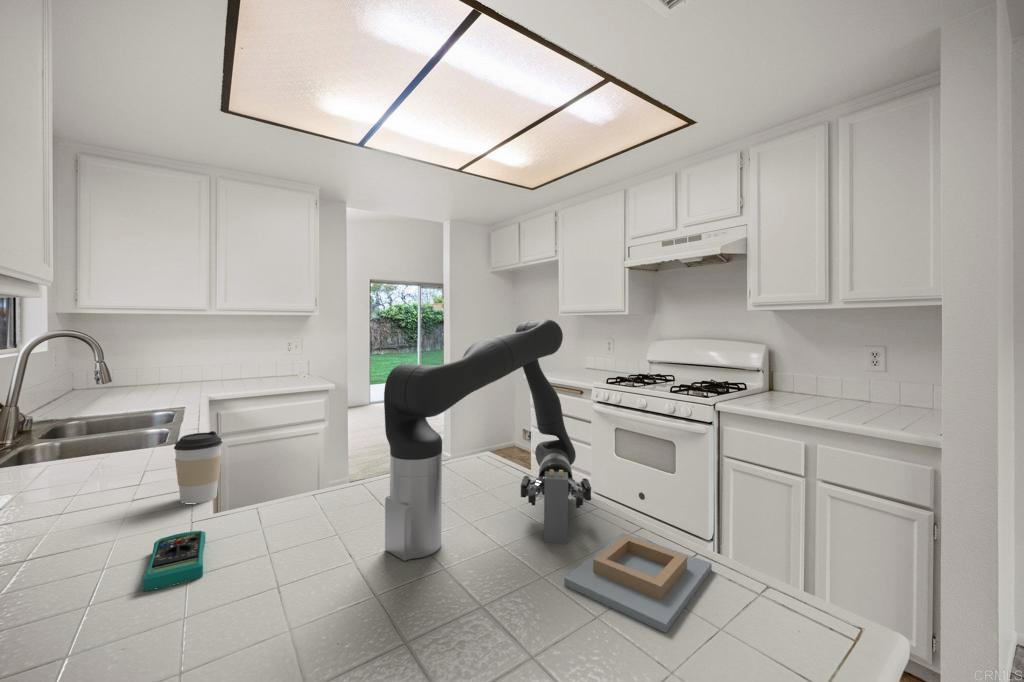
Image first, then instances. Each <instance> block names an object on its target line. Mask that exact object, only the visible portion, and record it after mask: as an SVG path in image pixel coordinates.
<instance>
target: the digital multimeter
mask: <svg viewBox="0 0 1024 682" xmlns="http://www.w3.org/2000/svg"><path fill="white" fill-rule="evenodd" d="M205 544H206V531H203V530H193V531H186V532H181V533H175V534H172V535H169V536H166V537H162V538H159V539H157V540H155V542H154V543H153V549H152V554H151V558H150V560H149V563H148V565H147V569H146V571H145V574H144V576H143V579H142V591H143V590H145V591H144V592H147V591H146V590H150V591H152V590H151V589H155V588H160V589H163V587H164V588H167V586H168V587H170V586H169V585H172V586H174V585H173V584H176V585H178V584H177V583H180V584H182V583H181V582H184V583H186V582H185V581H187V582H189V580H191V581H194V580H196V578H197V579H200V578H202V577H203V576H204V560H203V559H204V552H205ZM193 579H194V580H193ZM155 590H156V589H155Z"/></svg>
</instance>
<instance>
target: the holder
mask: <svg viewBox="0 0 1024 682" xmlns="http://www.w3.org/2000/svg"><path fill="white" fill-rule="evenodd" d="M712 570H713V569H712V562H710V561H707V560H704V559H700V558H697V557H695V556H691V555H689V554H686V553H684V552H680V551H678V550H674V549H671V548H668V547H665V546H663V545H659V544H656V543H654V542H651V541H648V540H645V539H642V538H639V537H636V536H633V535H630V534H627V533H624V532H622V533H620V534H619V535H618V536H616V538H614V539H613V540H611V541H610V542H609V543H608V544H606V545H605V546H604V547H602V548H600V549H599V551H597V552H596V553H595V554H593V555H592V556H591V557H589V558H588V559H586V560H585V561H584V562H583V563H581V564H580V565H579V566H577V567H576V568H575V569H573V570H572V571H571V572H570V573H568V574H567V575H566V576H565V577H564V578H563V580H564V581H563V584H564V585H563V586H565V587H567V588H569V589H571V590H574V591H575V592H577V593H578V594H579V593H580V594H582V595H584V596H586V597H588V598H590V599H592V600H594V601H597V602H599V603H601V604H603V605H605V606H607V607H609V608H612V609H614V610H616V611H618V612H620V613H622V614H624V615H626V616H629V617H630V618H632V619H635V620H637V621H638V622H642V623H644V624H645V625H648V626H649V627H652V628H654V629H656V630H659V631H660V632H662V633H665V634H667V633H668V631H669V629H671V627H672V626H673V624H674V623H675V621H676V620H677V618H679V616H680V615H681V614H682V612H683V610H684V609H685V607H686V606H687V605H688V604H689V602H690V601H691V599H692V598H693V597H694V595H695V594H696V592H697V591H698V589H699V588H700V587H701V585H702V584H703V583H704V581H705V579H706V578H707V577H708V576H709V574H711V572H712Z"/></svg>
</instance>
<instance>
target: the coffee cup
mask: <svg viewBox="0 0 1024 682" xmlns="http://www.w3.org/2000/svg"><path fill="white" fill-rule="evenodd" d="M222 445H223V441H222V438H221V437H220V436H218V434H217V432H216V431H215V430H214V431H213V430H212V431H209V432H197V433H189V434H185V435H183V436H181V437H180V439H179V440H178V441H176V442H175V446H173V449H174V451H175V452H174V453H175V458H174V461H175V471H176V478H177V485H178V489H179V498H180V503H181V502H183V503H200V504H205V503H207V502H210V501H213V500H214V499H216V498H217V496H218V485H219V479H220V470H221V463H222V462H221V460H222V452H221V450H222ZM212 499H213V500H212Z"/></svg>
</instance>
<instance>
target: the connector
mask: <svg viewBox="0 0 1024 682" xmlns="http://www.w3.org/2000/svg"><path fill="white" fill-rule="evenodd" d="M543 498H544V499H543V500H544V501H543V504H544V505H543V509H544V510H543V543H550V544H551V543H553V544H568V532H569V531H568V528H569V527H568V524H569V522H568V521H569V520H568V519H569V517H568V516H569V499H568V472H563V470H559V472H554V470H550V471H545V485H544V497H543Z"/></svg>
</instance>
